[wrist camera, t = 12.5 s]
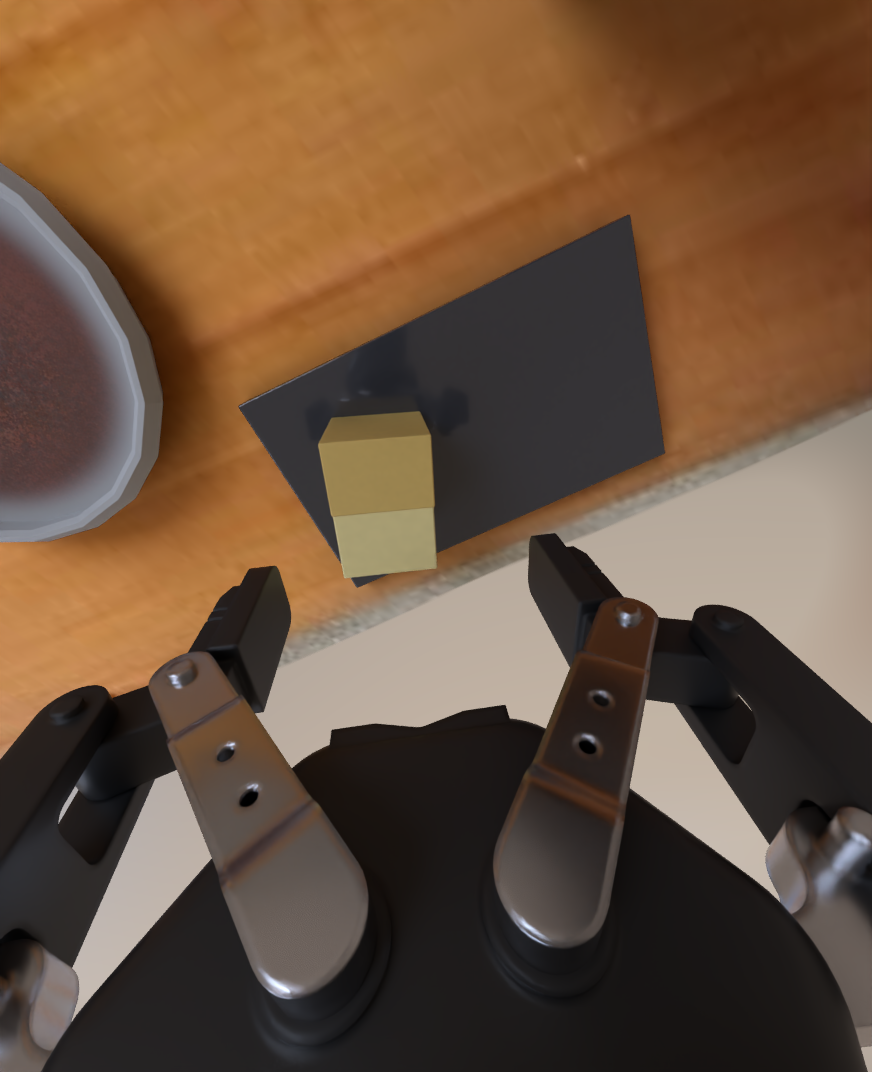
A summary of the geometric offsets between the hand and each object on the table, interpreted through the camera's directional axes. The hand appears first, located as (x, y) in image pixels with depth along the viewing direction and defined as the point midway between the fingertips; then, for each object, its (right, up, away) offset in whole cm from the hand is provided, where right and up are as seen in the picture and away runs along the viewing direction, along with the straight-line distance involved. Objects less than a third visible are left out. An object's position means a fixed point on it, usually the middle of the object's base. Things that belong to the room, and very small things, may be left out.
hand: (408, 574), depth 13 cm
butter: (-2, +5, +9) cm, 10 cm away
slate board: (+3, +7, +10) cm, 12 cm away
